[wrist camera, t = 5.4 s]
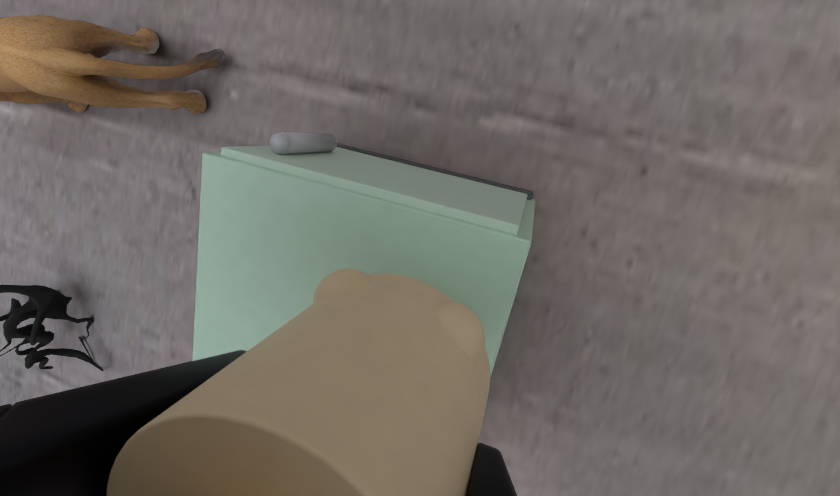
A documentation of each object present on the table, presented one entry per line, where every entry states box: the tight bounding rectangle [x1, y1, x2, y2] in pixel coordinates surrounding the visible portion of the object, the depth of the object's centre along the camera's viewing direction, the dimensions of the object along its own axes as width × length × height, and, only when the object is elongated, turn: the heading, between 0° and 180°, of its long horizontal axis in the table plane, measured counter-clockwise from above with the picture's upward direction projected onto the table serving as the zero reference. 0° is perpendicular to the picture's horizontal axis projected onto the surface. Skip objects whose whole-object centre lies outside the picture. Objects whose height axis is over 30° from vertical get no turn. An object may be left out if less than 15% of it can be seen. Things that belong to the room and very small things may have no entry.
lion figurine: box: [0, 16, 225, 114], centre depth 18 cm, size 15×5×9 cm, turn 96°
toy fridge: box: [193, 132, 536, 378], centre depth 17 cm, size 10×12×8 cm
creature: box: [0, 285, 103, 371], centre depth 26 cm, size 8×5×8 cm
